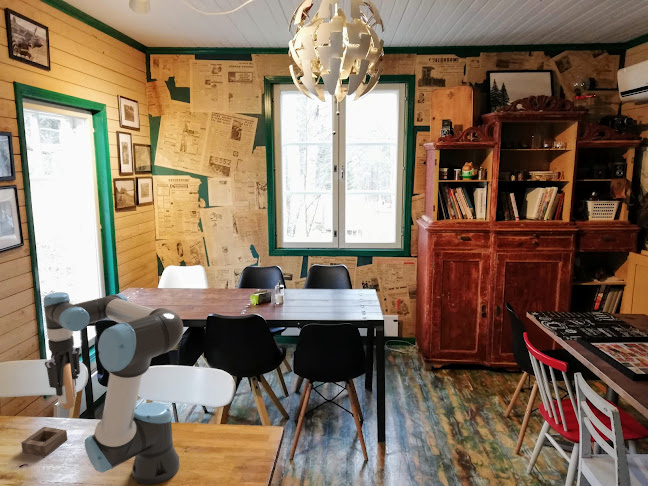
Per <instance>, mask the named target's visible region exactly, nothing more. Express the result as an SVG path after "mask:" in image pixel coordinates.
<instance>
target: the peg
mask: <svg viewBox="0 0 648 486" xmlns="http://www.w3.org/2000/svg"><path fill="white" fill-rule="evenodd" d="M63 385H64V386H65V391H66V400H67V403H66V404H63V403H60V404H61V409H62V410H69V409H72V408H74V407H75V403H76V401H75V397H74V393H73V384H72V375H71V366H70V363H66V362H65V367H63Z"/></svg>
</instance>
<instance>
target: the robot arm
mask: <svg viewBox="0 0 648 486" xmlns="http://www.w3.org/2000/svg"><path fill="white" fill-rule="evenodd" d="M70 301H71V300H70V296H69V294H68V293H67V292H61V291H60V292H52V293H48V294H47V295H44V297H43V310H44V318H45V325H46V333H47V339H48V341H47V342H48V350H49V351H50V353H51V356H50V359H49V360H48V361H45V362H44V367H46V371H47V376H48V377H47V378H48V384H49V388H51V389H53V388H54V389H55V395H56V396H57V401H58V403H59V404H61V403H63V404H66V403H67V400H66V391H65V386H64V385H63V367H65V362H66V363H70V366H71V375H72V384H73V393H74V398H76V397H77V389H76V388H77V379H78V378H79V376H78V375H80V374H81V367H80V354H79V353H80V350H81V349H80V347H75V342H74V341H75V340H74V336H73V335H74V332H79V331H82V330H83V329H85V328H86V327H87V326H88V325H89V324H93V323H97V322H100V321H101V322H102V321H104V320H107V319H108V320H110V321H114V322H116V323H117V324H115V325H112V326H110V327H109V326H108V328H105V329H104V330H103V332H102V333H101V334H100V336H99V339H98V344H97V349H98V358H99V361H100V363H101V365H102V367H103V368H104V369H105V370H106V371H107V372H108V373H109V376H108V381H107V388H106V394H105V402H104V408H103V413H102V419H100V421H99V422H98V423H97V425H96V426H95V429H94V434H92V435H89V436H88V437H86V438H85V439H84V448H85V452H86V455H87V457H88V460H89V462H90V464H91V465H92V467H93V468H94V470H96V471H97V472H99V473H101V474H102V473H106V472H108V471H110V470H113V469H114V468H116V467H118V466H120V465H122V464H123V463H125V462H126V461H129V460H131V459H133V458H134V460H133V463H132V470H131V471H132V472H131V473H132V478H133V480H134V481H135V482H136V483H138V484H141V485H146V486H147V485H150V486H151V485H156V484H160V483H163V482H165V481H168V480H169V479H171V478H172V477H174V476H175V475H176V473H177V472H178V470H179V469H180V465H181V464H180V457H179V454H178V453H177V451H176V449H175V447H174V441H173V439H174V438H173V427H172V420H173V418H172V413H171V409H170V407H169V406H168V405H167V404H165V403H161V402H153V401H152V402H145V403H142V404H140V405H138V406H137V403H138V402H137V401H138V397H139V393H140V387H141V382H142V377H143V375H144V374H145V373H147V372H148V370H149V368H150V365H151V361H152V358H155V357H157V356H159V355H163V354H166V353H168V352H170V351H172V350H173V349H174V348H175V347H177V345H178V344H179V342H181V340H182V338H183V335H184V323H183V320H182V319H181V317H180V315H179V314H177V313H176V312H175V311H174V310H170V309H167V308H164V307H158V308H153V307H148V306H146V305H142V304H138V303H135V302H132V301H129V300H128V298H127V296H125V294H123V293H116V294H110V295H107V296H102V297H100V298H99V297H98V298H95V299H91V300H86V301H83V302H78V303H75V304H73V303H71V302H70Z"/></svg>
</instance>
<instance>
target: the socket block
mask: <svg viewBox="0 0 648 486" xmlns="http://www.w3.org/2000/svg"><path fill="white" fill-rule="evenodd" d="M67 432H68V431H67V430H66V429H61V428H54V427H50V426H49V427H48V426H42V427H41V428H40V429H38V430H37V431H36V432H35V433H33V434H31V435H30V436H29V437H27V438H26V439H24V440H23V441H21V442H20V443H21V448H22V449H21V451H22V453H23V454H29V455H35V456H41V457H45V458H46V457H47V456H49V455H50V454H51V453H52V452H54V451H55V450H56V449H58V448H59V447H60V446H61V445H63V444H64V443H66V442H67V441H68V433H67Z"/></svg>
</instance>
